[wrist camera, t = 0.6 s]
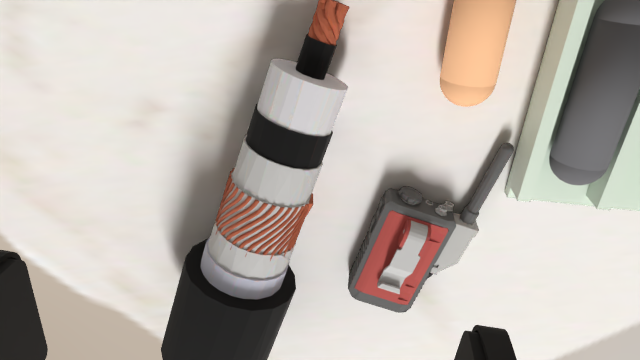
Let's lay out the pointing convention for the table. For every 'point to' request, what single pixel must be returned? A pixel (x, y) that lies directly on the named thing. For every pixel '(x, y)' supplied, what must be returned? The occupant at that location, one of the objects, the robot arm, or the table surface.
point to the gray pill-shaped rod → (599, 95)
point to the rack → (544, 117)
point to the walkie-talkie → (415, 241)
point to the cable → (261, 210)
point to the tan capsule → (474, 49)
